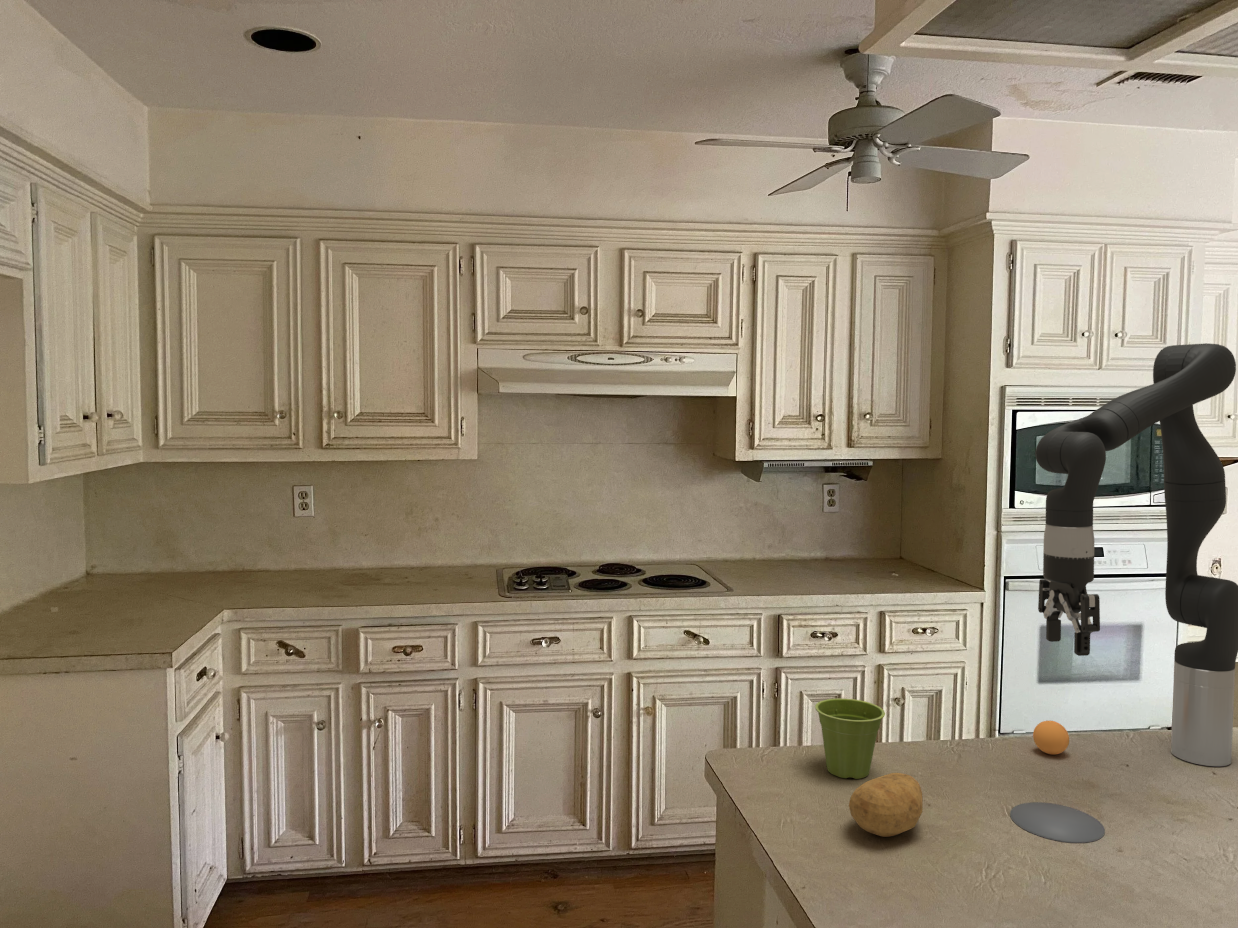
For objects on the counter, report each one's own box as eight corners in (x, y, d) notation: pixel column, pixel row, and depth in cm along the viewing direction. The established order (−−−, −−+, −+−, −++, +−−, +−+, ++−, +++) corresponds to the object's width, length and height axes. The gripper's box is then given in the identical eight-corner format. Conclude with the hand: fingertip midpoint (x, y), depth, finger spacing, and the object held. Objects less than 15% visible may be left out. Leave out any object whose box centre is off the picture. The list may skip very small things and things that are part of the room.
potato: (940, 825, 134) (941, 774, 133) (894, 858, 124) (895, 803, 123) (881, 805, 141) (882, 756, 140) (834, 834, 131) (834, 782, 130)
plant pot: (876, 791, 146) (877, 724, 145) (806, 777, 151) (806, 713, 151) (890, 765, 156) (891, 704, 156) (824, 753, 162) (825, 693, 161)
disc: (1039, 796, 144) (1039, 795, 144) (1121, 827, 133) (1121, 825, 133) (993, 816, 136) (993, 815, 136) (1075, 851, 126) (1075, 850, 126)
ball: (1043, 744, 166) (1044, 713, 166) (1075, 754, 161) (1076, 722, 161) (1026, 751, 163) (1026, 719, 162) (1057, 762, 158) (1058, 729, 157)
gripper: (1116, 558, 138) (1115, 659, 139) (1066, 544, 152) (1065, 635, 154) (1070, 560, 138) (1069, 661, 139) (1024, 545, 152) (1023, 637, 153)
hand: (1067, 647), depth 146 cm, fingers open, 8 cm apart
